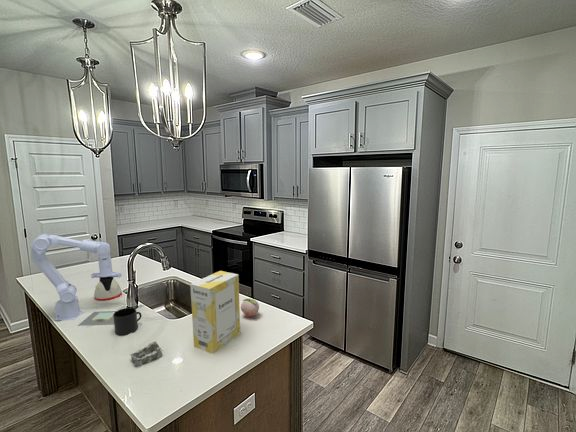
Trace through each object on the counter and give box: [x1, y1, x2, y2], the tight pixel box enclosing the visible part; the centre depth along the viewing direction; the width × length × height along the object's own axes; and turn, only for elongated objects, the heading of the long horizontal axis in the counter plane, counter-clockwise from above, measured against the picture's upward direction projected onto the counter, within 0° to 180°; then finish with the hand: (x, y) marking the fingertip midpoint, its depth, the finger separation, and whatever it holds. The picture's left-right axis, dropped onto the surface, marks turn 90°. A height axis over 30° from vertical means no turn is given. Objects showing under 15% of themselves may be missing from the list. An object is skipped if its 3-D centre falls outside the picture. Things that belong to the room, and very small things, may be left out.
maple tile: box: [92, 312, 115, 322], centre depth 153 cm, size 8×1×7 cm
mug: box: [113, 307, 142, 336], centre depth 143 cm, size 9×12×9 cm
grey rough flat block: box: [130, 341, 163, 367], centre depth 122 cm, size 11×8×4 cm
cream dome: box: [93, 277, 123, 302], centre depth 178 cm, size 14×14×15 cm
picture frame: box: [77, 310, 117, 327], centre depth 153 cm, size 18×14×1 cm
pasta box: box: [189, 270, 241, 355], centre depth 133 cm, size 18×10×28 cm, turn 151°
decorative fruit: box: [240, 298, 260, 318], centre depth 154 cm, size 9×8×10 cm
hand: (108, 290), depth 162 cm, fingers closed
